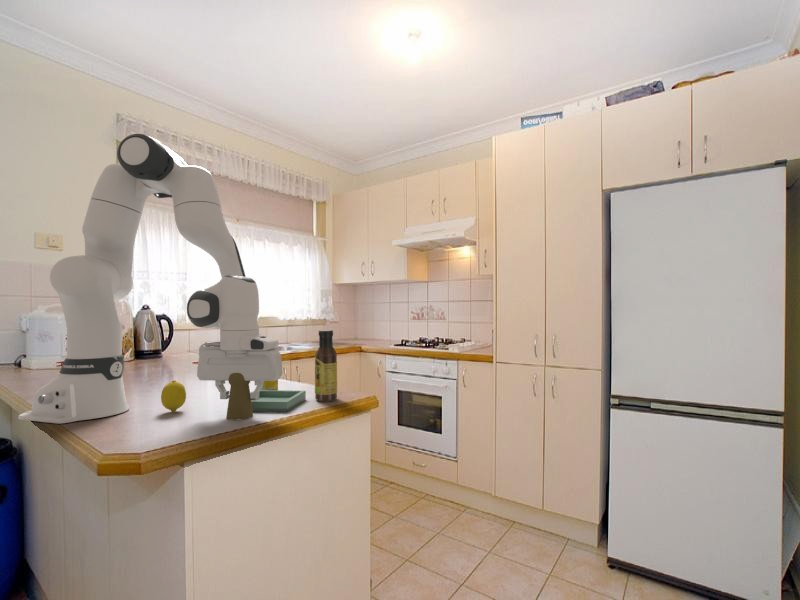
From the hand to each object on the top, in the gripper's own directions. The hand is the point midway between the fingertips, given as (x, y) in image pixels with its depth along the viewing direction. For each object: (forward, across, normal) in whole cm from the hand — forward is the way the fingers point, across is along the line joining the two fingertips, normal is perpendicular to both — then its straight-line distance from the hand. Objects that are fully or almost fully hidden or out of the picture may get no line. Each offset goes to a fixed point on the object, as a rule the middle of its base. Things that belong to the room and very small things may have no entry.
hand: (239, 399), depth 97 cm
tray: (+4, +3, +12) cm, 13 cm away
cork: (+4, 0, 0) cm, 4 cm away
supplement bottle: (+4, -4, +26) cm, 27 cm away
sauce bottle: (+4, +16, +19) cm, 25 cm away
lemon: (+4, -19, +3) cm, 20 cm away
